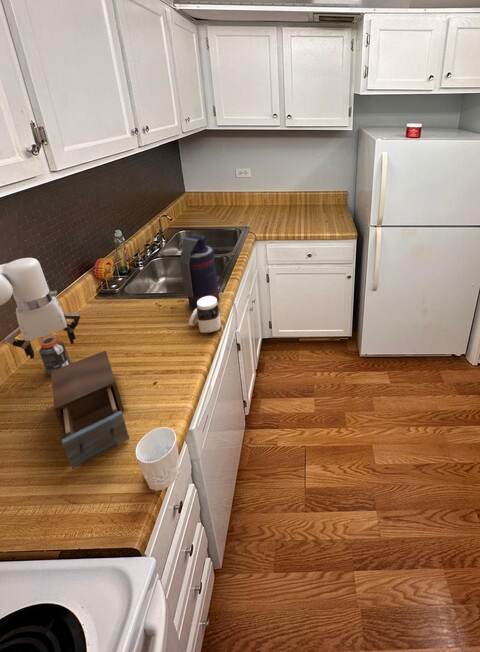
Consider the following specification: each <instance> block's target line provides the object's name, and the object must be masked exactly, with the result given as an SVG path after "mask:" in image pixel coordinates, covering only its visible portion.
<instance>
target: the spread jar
mask: <svg viewBox="0 0 480 652" xmlns="http://www.w3.org/2000/svg"><path fill="white" fill-rule="evenodd" d="M220 310H221V309H220V305H219V302H218V303H217V298H216V297H214V296H205V297H202V298H200V299H199V300H198V301H197V308H196V309H194V310H193V311H192V313H191V315H190V316H189V317H190V318H189V319H188V325H189V326H192V327H194V326H195V325H196V324H198V329H199V332H200V333H201V334H203V335H211V334H214V333H217V332H218V331H220V330H221V327H222V318H221V311H220Z"/></svg>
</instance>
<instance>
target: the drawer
mask: <svg viewBox="0 0 480 652" xmlns="http://www.w3.org/2000/svg"><path fill="white" fill-rule="evenodd" d="M63 414H64V423H65V431H66V435H67V437H64V438H62V439H61V445H62V448H63V450H64V453H65V455H66V457H67V460H68V462H69V465H70V468H71V469H72V470H74V469H76V468H77V467H79V466H84V465H86V464H87V463H89V462H91V461H92V460H94V459H96V458H98V457H100V456H102V455H104V454H105V453H108V452H109V451H111V450H113V449H115V448H117V447H118V446H119V445H120V444H122V443H124V442H126V441H127V440H129V439H130V435H129V432H128V429H127V426H126V422H125V419H124V415H123V411H119V412H118V411H117V408H116V404H115V401H114V398H113V394H112V391H111V388H110V387H109V388H107V389H105V390H102V391H100V392H98V393H96V394H93V395H91V396H89V397H87V398H84V399H82V400H80V401H78V402H76V403H73V404H71V405H69V406H67V407H64V408H63Z"/></svg>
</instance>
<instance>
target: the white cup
mask: <svg viewBox="0 0 480 652" xmlns="http://www.w3.org/2000/svg"><path fill="white" fill-rule="evenodd" d="M135 457H136V460H137V463H138V465H139V469H140V471H141V474H142V475H143V478H144V480H145V482H146V484H147V486H148V488H149V489H150V490H152V491H155V492H158V491H163V490H165V489H167V488H169V487H171V486H172V485H173V483H175V481H176V480H177V479H178V477H179V474H180V457H179V448H178V441H177V435H176V432H175V431H174V430H173V428H170V427H167V426H160V427H157V428H154V429H152V430H150V431H148V432H147V433H146V434H144V435H143V436H142V438H140V440H139V441H138V442H137V444H136V447H135Z"/></svg>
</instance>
